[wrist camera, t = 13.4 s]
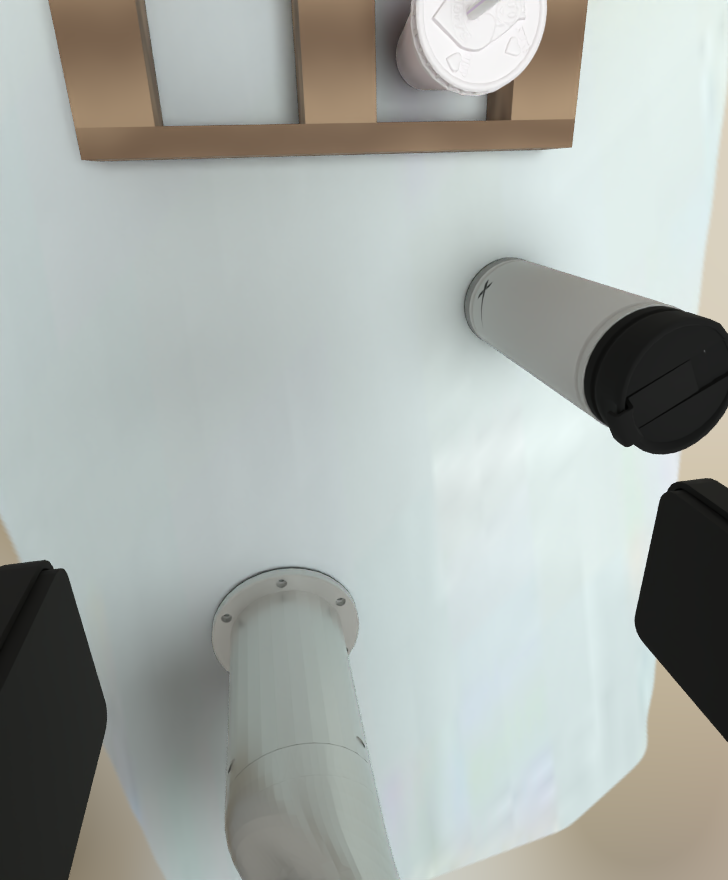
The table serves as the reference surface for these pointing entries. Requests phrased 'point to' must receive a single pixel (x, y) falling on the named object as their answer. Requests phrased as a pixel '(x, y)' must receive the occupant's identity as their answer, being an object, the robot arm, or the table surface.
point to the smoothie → (469, 43)
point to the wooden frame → (303, 90)
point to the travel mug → (607, 351)
